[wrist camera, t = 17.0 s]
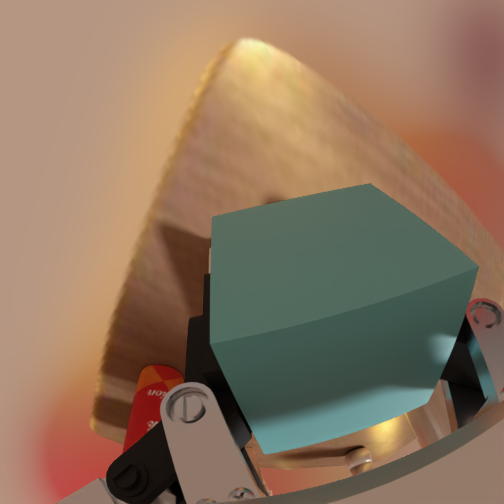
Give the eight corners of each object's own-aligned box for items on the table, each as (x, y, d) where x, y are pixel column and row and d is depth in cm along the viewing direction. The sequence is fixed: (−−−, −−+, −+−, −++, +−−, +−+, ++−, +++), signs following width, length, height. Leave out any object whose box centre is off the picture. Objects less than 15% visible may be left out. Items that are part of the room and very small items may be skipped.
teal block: (369, 304, 11) (369, 183, 9) (427, 403, 7) (478, 266, 4) (247, 335, 11) (212, 217, 9) (264, 454, 7) (209, 343, 4)
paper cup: (203, 385, 35) (207, 486, 23) (157, 398, 36) (150, 490, 24) (168, 350, 31) (158, 465, 19) (119, 367, 32) (100, 468, 20)
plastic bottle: (357, 444, 54) (381, 514, 37) (372, 444, 57) (396, 509, 39) (337, 455, 56) (357, 523, 39) (353, 455, 59) (373, 518, 41)
